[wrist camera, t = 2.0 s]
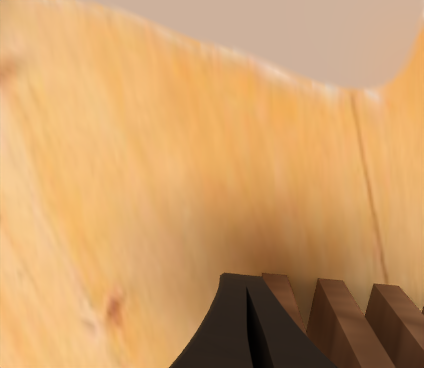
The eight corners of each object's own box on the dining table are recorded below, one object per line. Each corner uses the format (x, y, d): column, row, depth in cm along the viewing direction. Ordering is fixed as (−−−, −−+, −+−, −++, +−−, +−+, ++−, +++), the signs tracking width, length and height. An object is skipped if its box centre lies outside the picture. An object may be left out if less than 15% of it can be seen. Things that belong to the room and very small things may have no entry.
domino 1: (252, 336, 23) (267, 465, 15) (262, 273, 21) (284, 381, 14) (275, 338, 23) (302, 469, 15) (286, 275, 21) (323, 384, 14)
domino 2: (304, 341, 23) (346, 473, 15) (317, 278, 21) (372, 389, 14) (327, 343, 23) (381, 476, 15) (342, 280, 21) (411, 393, 14)
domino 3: (356, 346, 23) (424, 480, 15) (373, 283, 21) (459, 398, 14) (379, 348, 23) (459, 484, 15) (398, 286, 21) (498, 401, 14)
